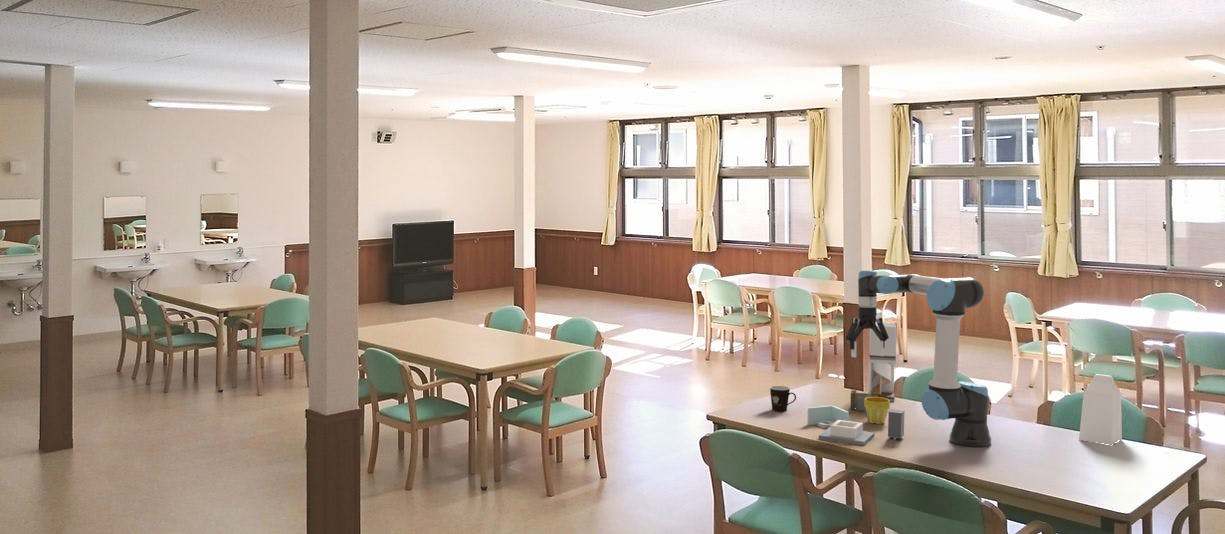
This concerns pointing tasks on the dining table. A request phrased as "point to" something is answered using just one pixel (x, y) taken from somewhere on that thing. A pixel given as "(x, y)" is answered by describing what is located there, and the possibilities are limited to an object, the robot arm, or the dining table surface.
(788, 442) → the dining table surface
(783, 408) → the coffee mug
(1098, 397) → the milk
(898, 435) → the plug
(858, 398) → the ruin model on sheet
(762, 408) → the dining table surface
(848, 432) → the socket
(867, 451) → the dining table surface
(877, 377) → the white stand
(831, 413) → the right angle wall
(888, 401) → the plant pot
